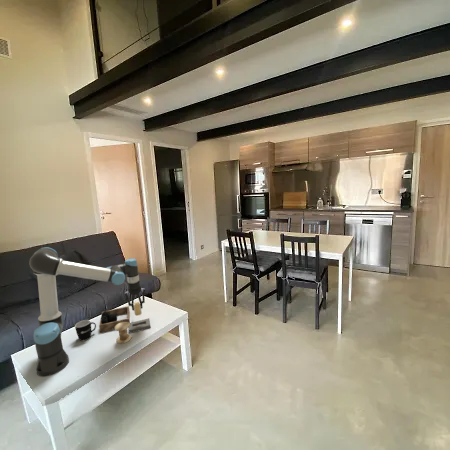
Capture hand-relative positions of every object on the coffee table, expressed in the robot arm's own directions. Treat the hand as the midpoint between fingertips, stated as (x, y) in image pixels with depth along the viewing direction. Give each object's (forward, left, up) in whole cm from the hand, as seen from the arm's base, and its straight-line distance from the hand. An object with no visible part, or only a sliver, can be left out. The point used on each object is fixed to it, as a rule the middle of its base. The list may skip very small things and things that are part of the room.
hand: (138, 313), depth 175 cm
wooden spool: (-10, -11, -10) cm, 18 cm away
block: (0, 0, 0) cm, 1 cm away
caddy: (-16, +16, -10) cm, 25 cm away
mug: (-33, +4, -10) cm, 35 cm away
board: (0, 0, -10) cm, 10 cm away
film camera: (-20, +15, -10) cm, 27 cm away
